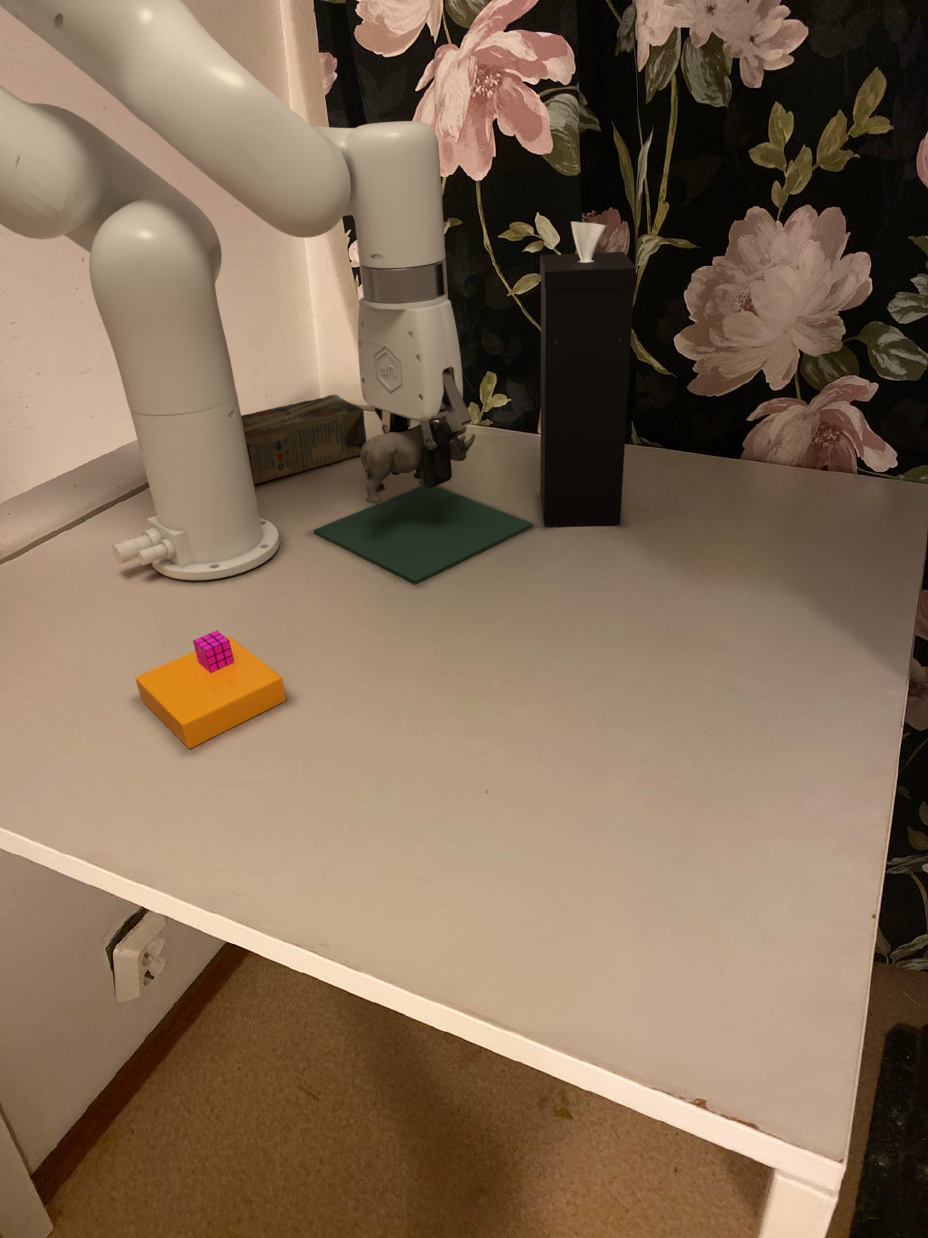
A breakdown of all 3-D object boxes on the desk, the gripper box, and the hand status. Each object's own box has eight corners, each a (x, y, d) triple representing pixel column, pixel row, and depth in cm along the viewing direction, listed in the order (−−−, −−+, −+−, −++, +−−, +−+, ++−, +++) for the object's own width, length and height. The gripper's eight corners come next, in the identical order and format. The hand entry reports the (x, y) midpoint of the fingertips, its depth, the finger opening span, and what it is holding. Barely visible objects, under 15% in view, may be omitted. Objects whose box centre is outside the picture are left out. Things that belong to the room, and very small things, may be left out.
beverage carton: (371, 454, 108) (366, 402, 104) (227, 496, 98) (215, 441, 95) (340, 437, 113) (333, 387, 110) (200, 476, 104) (188, 423, 100)
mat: (415, 584, 79) (415, 580, 79) (313, 533, 89) (313, 529, 89) (533, 526, 88) (533, 523, 88) (428, 486, 98) (428, 482, 98)
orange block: (287, 701, 65) (278, 654, 63) (189, 750, 61) (175, 701, 58) (235, 658, 70) (225, 613, 68) (141, 700, 66) (127, 654, 64)
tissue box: (620, 525, 88) (638, 225, 73) (543, 528, 88) (545, 229, 73) (611, 494, 94) (625, 213, 80) (539, 496, 95) (540, 216, 80)
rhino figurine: (489, 469, 88) (487, 411, 85) (374, 508, 81) (367, 447, 78) (465, 458, 91) (463, 402, 88) (352, 495, 84) (344, 435, 81)
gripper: (314, 280, 79) (339, 468, 89) (437, 303, 69) (451, 512, 78) (377, 267, 84) (395, 447, 93) (502, 285, 73) (508, 486, 83)
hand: (421, 475), depth 86 cm, fingers closed on rhino figurine, 4 cm apart
